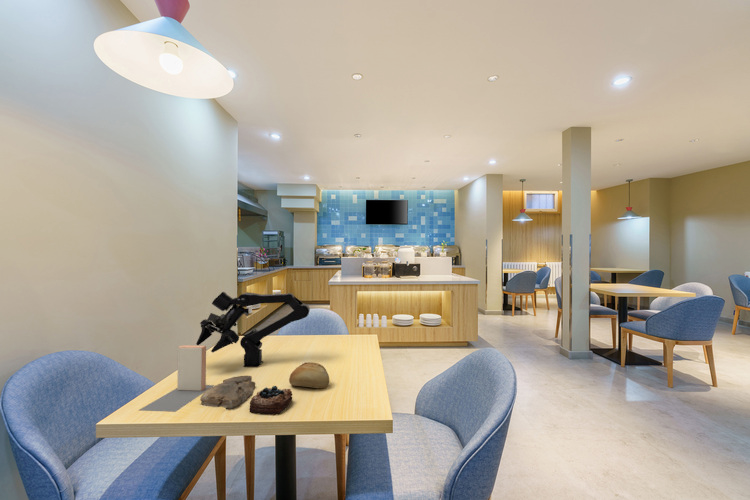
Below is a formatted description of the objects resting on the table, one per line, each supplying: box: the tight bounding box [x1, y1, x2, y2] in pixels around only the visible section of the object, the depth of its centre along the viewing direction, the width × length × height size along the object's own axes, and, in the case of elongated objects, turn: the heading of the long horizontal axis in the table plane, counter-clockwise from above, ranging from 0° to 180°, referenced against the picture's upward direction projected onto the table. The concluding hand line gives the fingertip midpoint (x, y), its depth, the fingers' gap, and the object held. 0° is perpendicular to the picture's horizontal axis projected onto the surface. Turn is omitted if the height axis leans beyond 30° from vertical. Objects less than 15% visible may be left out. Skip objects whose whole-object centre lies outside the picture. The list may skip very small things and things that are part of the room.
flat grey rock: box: [199, 375, 256, 410], centre depth 108 cm, size 14×5×20 cm
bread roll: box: [288, 362, 330, 389], centre depth 116 cm, size 10×15×8 cm, turn 84°
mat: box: [139, 384, 215, 413], centre depth 106 cm, size 20×12×1 cm, turn 175°
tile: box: [176, 344, 207, 391], centre depth 112 cm, size 2×9×15 cm, turn 85°
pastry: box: [248, 385, 293, 416], centre depth 100 cm, size 11×12×6 cm
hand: (204, 348), depth 127 cm, fingers open, 9 cm apart
